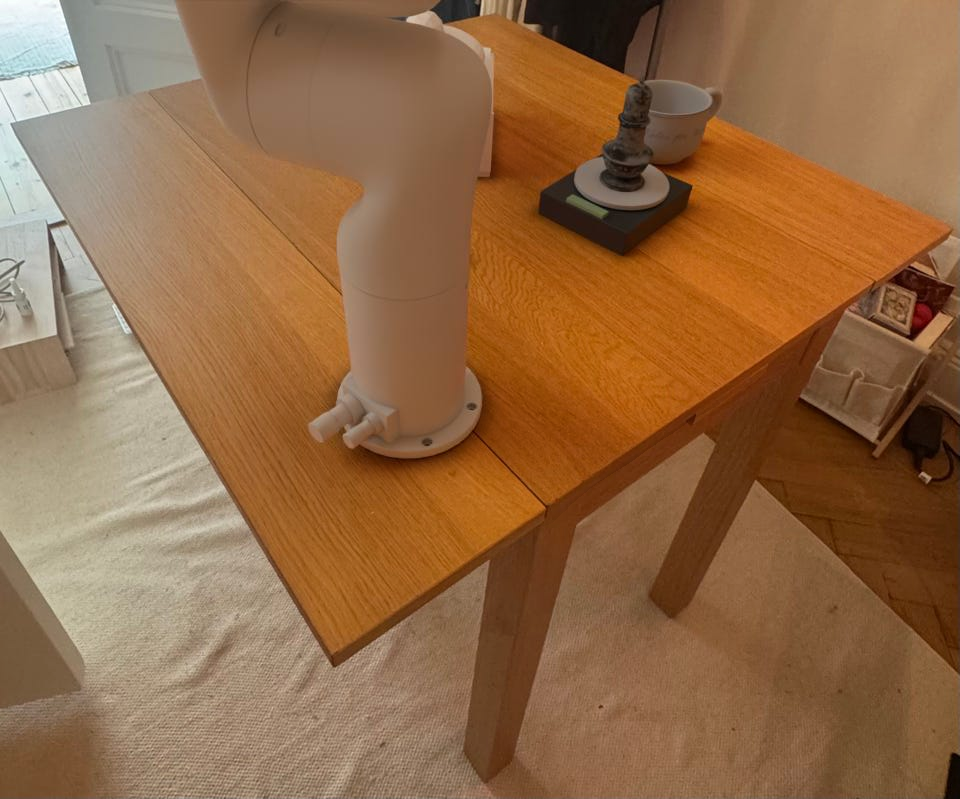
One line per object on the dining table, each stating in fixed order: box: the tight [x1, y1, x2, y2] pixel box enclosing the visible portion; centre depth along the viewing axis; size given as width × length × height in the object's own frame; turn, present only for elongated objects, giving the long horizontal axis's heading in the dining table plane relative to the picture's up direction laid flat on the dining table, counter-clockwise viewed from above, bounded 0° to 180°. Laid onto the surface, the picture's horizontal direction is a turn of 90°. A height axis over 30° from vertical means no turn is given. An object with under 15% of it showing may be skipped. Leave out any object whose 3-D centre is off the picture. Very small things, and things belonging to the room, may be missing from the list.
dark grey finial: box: [599, 75, 654, 192], centre depth 81 cm, size 6×6×12 cm
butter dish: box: [405, 10, 495, 178], centre depth 92 cm, size 18×18×16 cm
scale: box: [537, 153, 694, 257], centre depth 86 cm, size 14×12×4 cm
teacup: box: [625, 79, 723, 165], centre depth 95 cm, size 14×11×8 cm
